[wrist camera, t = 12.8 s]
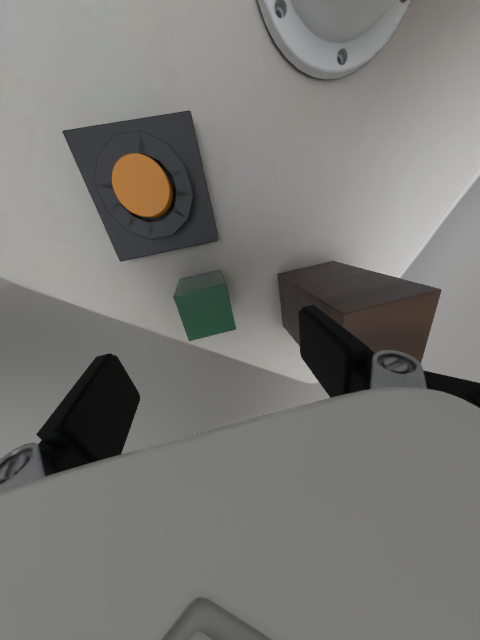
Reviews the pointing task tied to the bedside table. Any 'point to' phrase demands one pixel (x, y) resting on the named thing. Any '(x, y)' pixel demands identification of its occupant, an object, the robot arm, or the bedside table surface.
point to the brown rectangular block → (362, 305)
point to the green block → (204, 305)
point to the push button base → (177, 163)
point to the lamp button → (142, 185)
